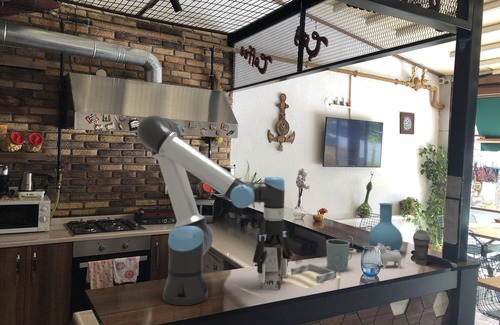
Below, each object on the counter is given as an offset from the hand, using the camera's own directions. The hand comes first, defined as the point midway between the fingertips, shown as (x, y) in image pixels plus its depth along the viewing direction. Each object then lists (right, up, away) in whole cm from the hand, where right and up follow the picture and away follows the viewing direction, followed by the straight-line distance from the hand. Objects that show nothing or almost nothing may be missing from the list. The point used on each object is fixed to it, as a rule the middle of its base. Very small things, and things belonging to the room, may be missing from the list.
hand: (272, 278), depth 144 cm
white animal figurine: (+53, -4, +29) cm, 60 cm away
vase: (+61, -4, +56) cm, 83 cm away
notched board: (+14, -4, +11) cm, 18 cm away
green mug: (+30, -4, +25) cm, 39 cm away
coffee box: (0, -4, 0) cm, 4 cm away
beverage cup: (+70, -4, +35) cm, 78 cm away
